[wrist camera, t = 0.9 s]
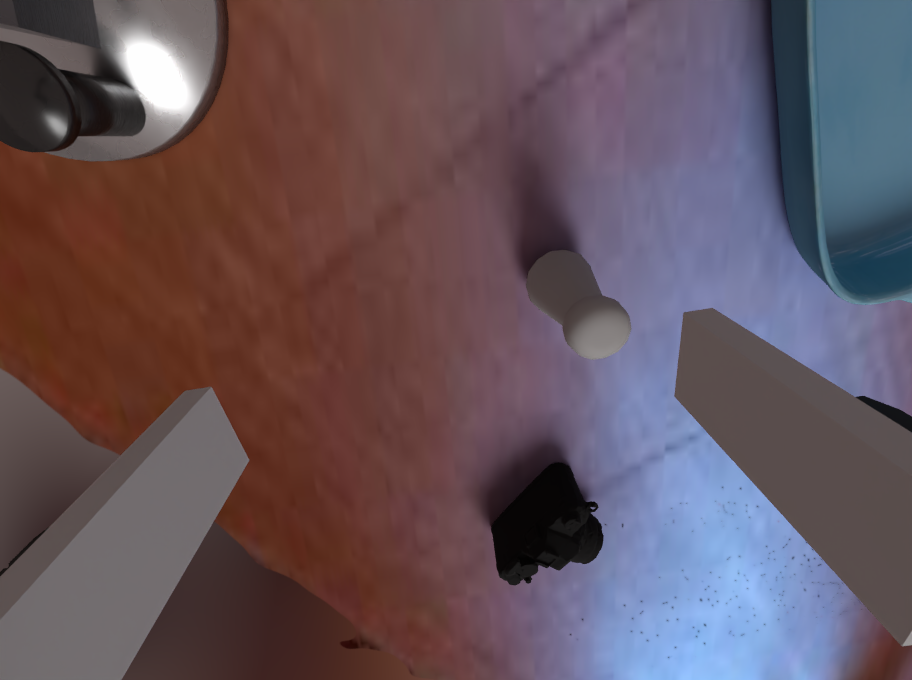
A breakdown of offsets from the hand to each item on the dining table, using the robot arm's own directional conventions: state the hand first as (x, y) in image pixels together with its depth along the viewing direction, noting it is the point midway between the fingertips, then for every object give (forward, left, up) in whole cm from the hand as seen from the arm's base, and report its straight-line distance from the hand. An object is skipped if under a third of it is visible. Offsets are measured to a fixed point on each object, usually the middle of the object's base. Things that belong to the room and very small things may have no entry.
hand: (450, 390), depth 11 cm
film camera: (+33, +19, -27) cm, 46 cm away
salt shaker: (+3, +11, -27) cm, 29 cm away
